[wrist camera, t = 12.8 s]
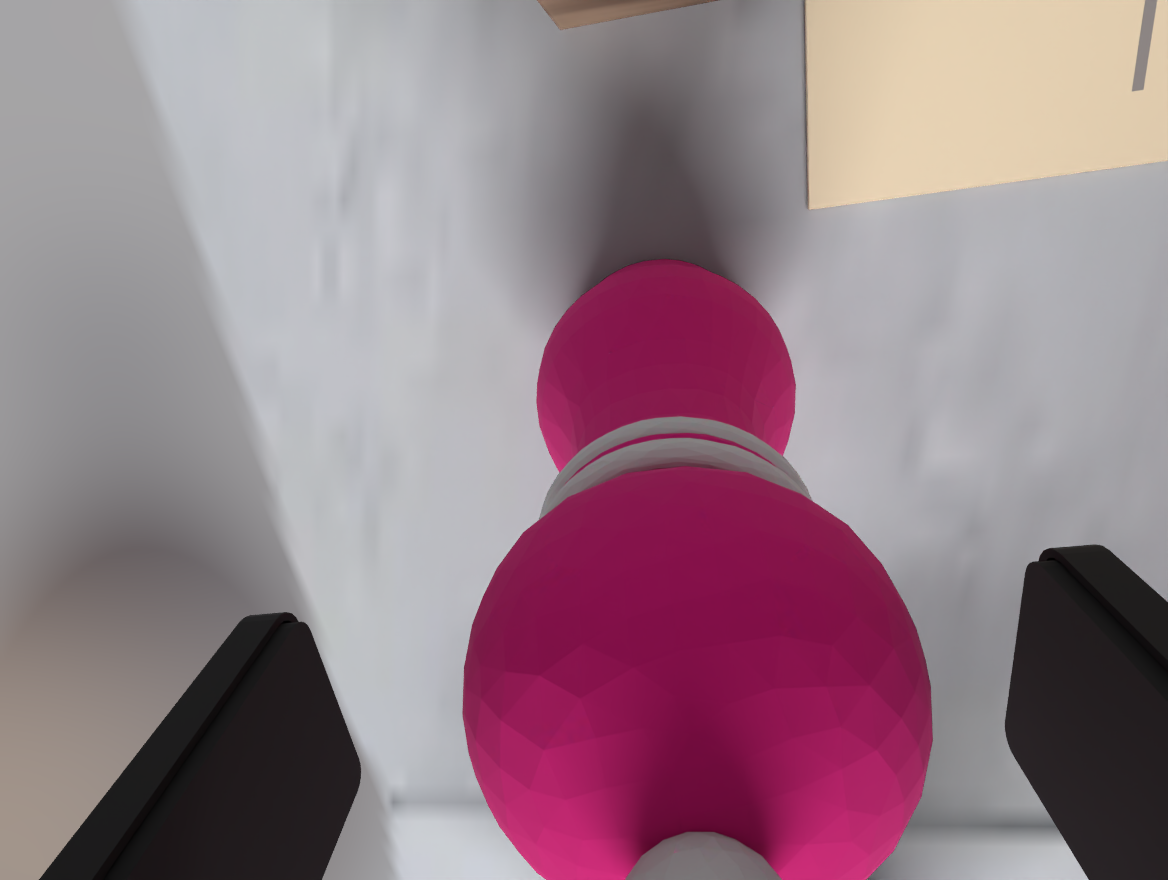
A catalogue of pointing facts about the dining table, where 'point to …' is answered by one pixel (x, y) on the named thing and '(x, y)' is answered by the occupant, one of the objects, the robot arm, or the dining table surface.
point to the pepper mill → (689, 618)
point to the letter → (979, 93)
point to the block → (605, 9)
